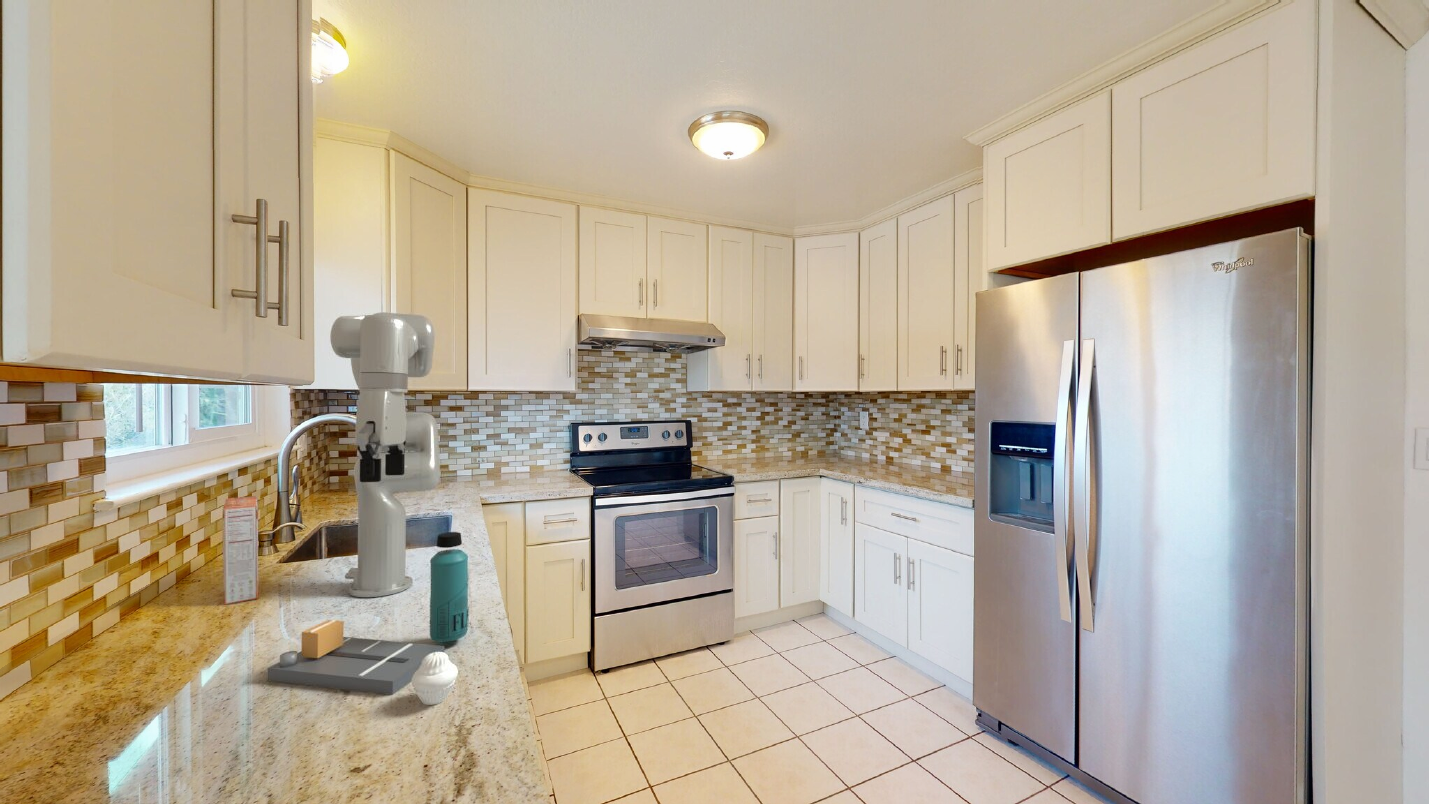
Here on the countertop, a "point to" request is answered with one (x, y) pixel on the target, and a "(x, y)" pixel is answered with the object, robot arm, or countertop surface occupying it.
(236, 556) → the cracker box
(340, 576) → the countertop surface
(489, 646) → the countertop surface
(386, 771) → the countertop surface
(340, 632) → the fader tab
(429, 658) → the muffin
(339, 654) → the console board
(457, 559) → the beverage bottle
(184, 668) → the countertop surface
